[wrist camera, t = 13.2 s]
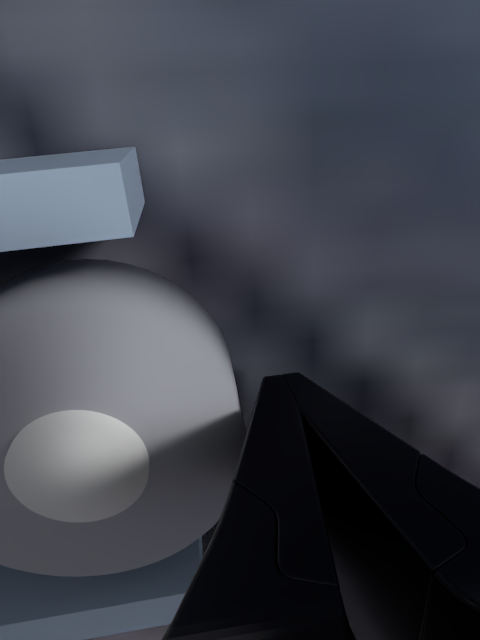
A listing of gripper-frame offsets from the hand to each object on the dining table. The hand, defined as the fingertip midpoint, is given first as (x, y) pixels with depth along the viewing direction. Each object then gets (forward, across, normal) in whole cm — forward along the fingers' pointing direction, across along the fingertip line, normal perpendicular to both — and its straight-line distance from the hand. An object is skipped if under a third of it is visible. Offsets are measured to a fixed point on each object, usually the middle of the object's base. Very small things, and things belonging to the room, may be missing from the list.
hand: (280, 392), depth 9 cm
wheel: (+1, +4, 0) cm, 4 cm away
